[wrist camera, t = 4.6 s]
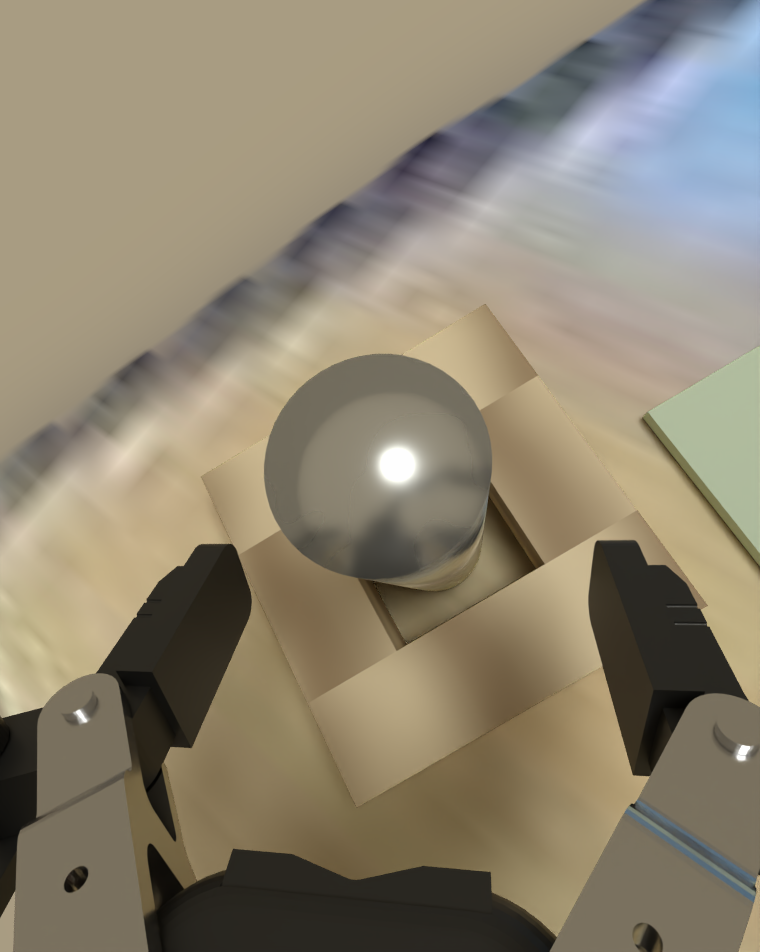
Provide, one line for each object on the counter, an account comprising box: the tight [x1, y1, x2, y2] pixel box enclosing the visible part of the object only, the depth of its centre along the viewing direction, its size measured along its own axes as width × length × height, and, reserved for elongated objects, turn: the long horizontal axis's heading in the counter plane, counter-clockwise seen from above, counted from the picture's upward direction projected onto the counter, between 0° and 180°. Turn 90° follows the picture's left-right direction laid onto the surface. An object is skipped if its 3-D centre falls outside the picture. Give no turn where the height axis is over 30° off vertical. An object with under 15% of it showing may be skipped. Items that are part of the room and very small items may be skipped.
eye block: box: [201, 304, 708, 808], centre depth 18 cm, size 12×12×2 cm
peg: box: [264, 354, 492, 591], centre depth 14 cm, size 4×4×12 cm
